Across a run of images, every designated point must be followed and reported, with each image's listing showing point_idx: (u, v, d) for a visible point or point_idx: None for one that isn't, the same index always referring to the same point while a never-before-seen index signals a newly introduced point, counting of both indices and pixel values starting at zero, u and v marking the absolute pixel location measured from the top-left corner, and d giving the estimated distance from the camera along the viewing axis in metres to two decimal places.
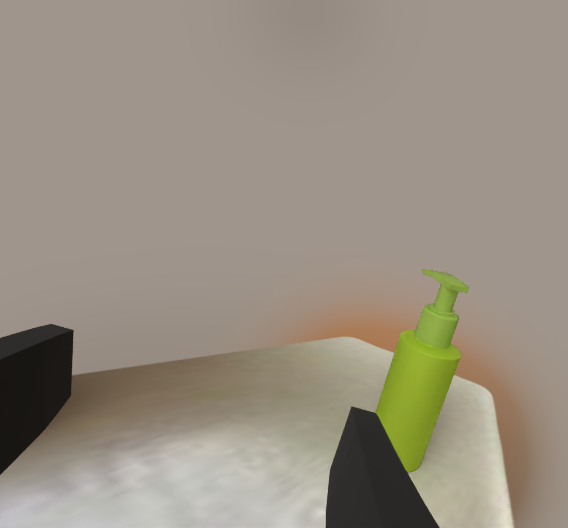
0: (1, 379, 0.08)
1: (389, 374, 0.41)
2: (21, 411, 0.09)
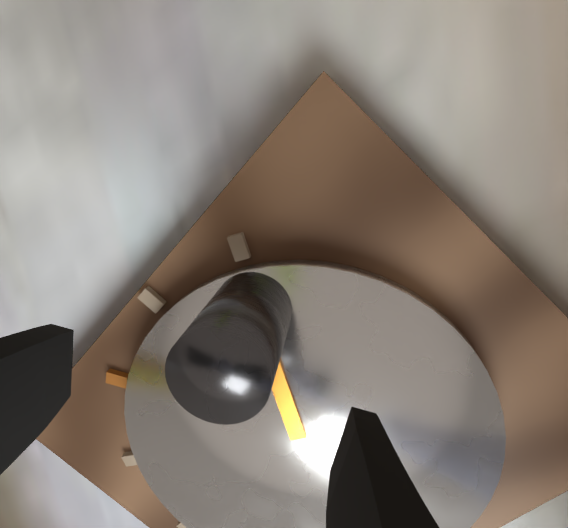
0: (1, 379, 0.08)
1: None
2: (21, 411, 0.09)
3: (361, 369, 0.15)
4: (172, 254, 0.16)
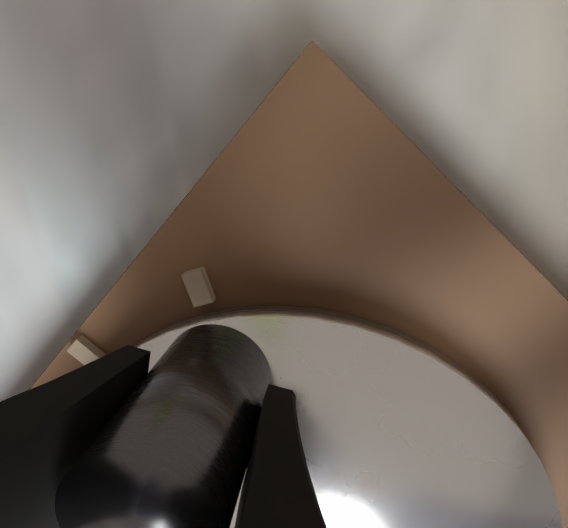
0: (97, 406, 0.08)
1: None
2: None
3: (366, 454, 0.11)
4: (111, 294, 0.12)
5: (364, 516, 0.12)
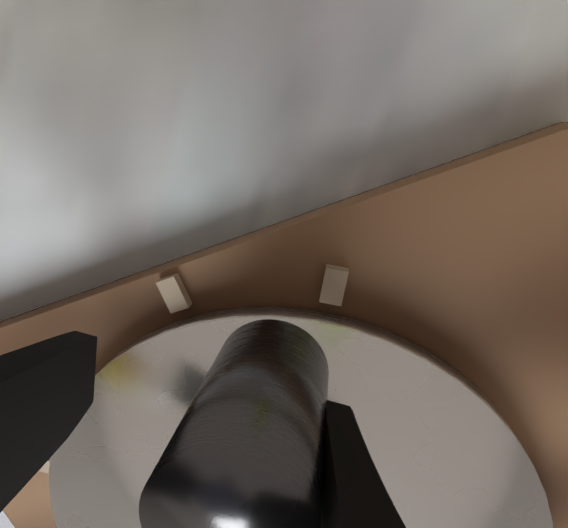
0: (31, 387, 0.08)
1: None
2: (48, 419, 0.09)
3: (391, 479, 0.11)
4: (234, 250, 0.11)
5: None
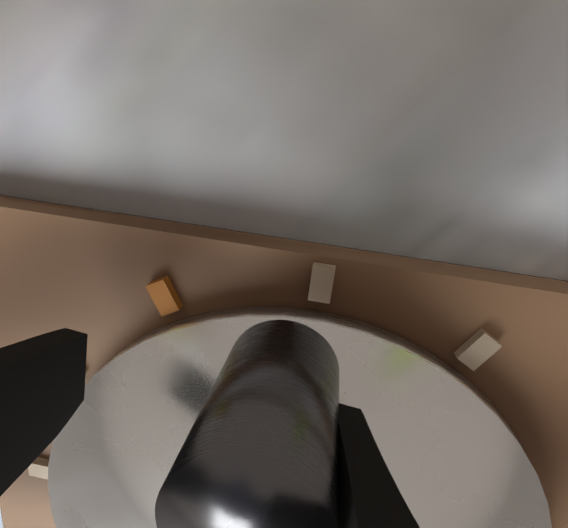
0: (19, 384, 0.08)
1: None
2: (37, 416, 0.09)
3: None
4: (406, 273, 0.10)
5: None
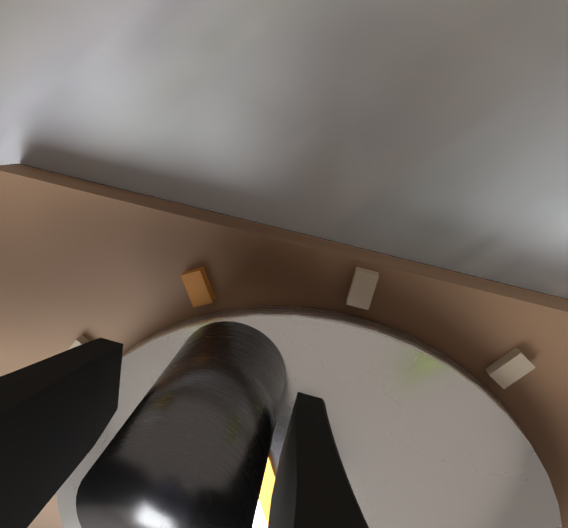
0: (63, 397, 0.08)
1: None
2: (77, 427, 0.09)
3: (375, 459, 0.11)
4: (448, 286, 0.10)
5: (367, 520, 0.12)
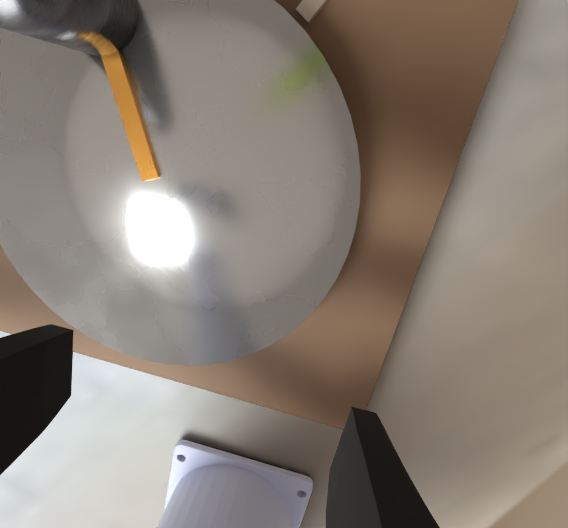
0: (1, 379, 0.08)
1: None
2: (21, 411, 0.09)
3: (212, 88, 0.14)
4: None
5: (213, 155, 0.15)
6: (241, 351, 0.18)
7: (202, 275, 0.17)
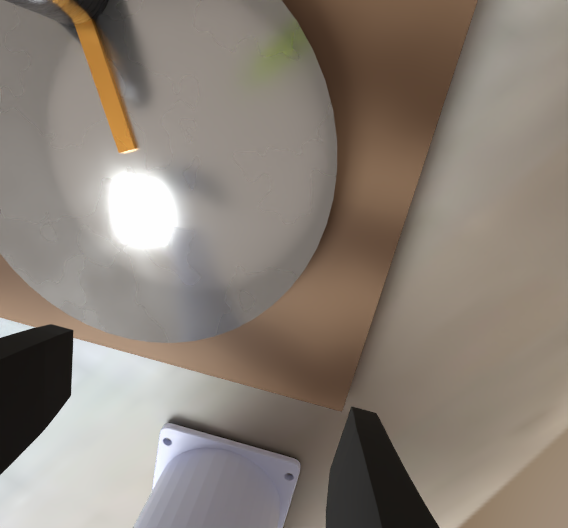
0: (1, 379, 0.08)
1: None
2: (21, 411, 0.09)
3: (186, 55, 0.14)
4: None
5: (189, 124, 0.15)
6: (223, 327, 0.17)
7: (181, 249, 0.17)
